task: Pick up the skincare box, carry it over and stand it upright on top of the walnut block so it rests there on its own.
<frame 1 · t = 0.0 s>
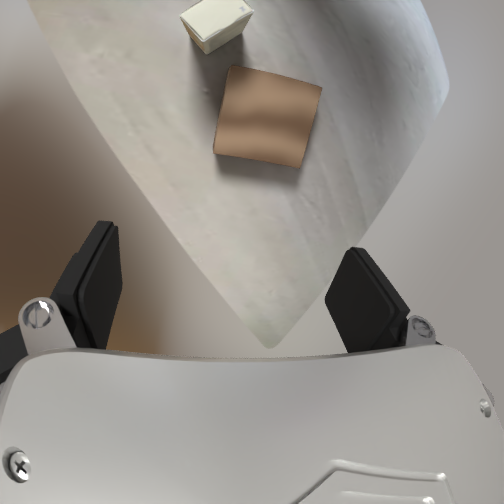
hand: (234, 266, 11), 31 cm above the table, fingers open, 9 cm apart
walnut block: (261, 114, 36), on the table
skincare box: (214, 34, 28), on the table
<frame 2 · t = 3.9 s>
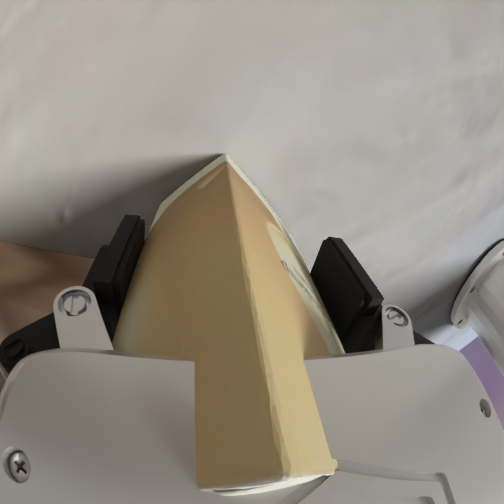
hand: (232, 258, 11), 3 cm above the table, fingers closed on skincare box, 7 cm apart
walnut block: (65, 314, 16), on the table
skincare box: (226, 218, 14), on the table, touching gripper
when the fingers open (10 cm above the table, at t = 9.7 s): skincare box drops 2 cm, resting on walnut block.
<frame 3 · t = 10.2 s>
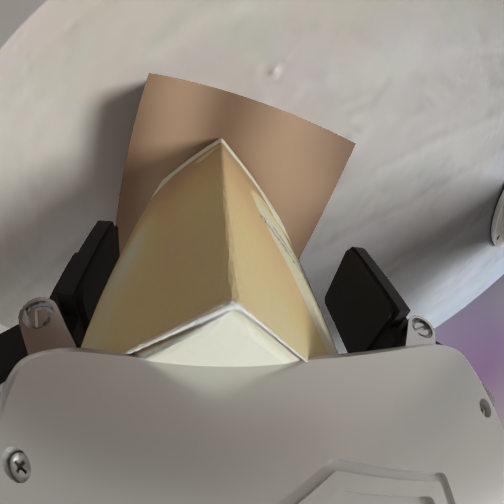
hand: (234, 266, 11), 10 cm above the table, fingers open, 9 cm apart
walnut block: (220, 175, 19), on the table, touching skincare box
skincare box: (220, 197, 15), point 4 cm above the table, touching walnut block
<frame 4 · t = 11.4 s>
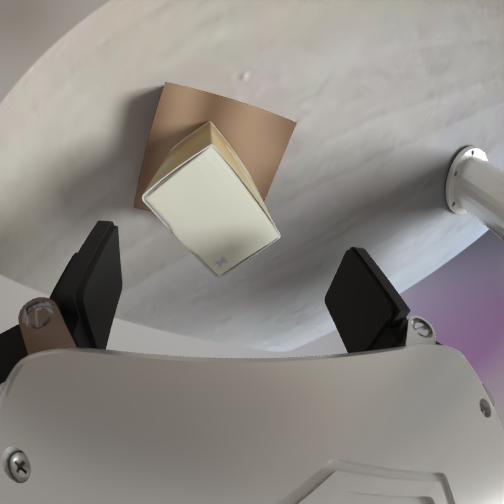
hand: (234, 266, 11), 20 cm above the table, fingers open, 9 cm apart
walnut block: (209, 150, 27), on the table, touching skincare box
skincare box: (209, 158, 23), point 4 cm above the table, touching walnut block
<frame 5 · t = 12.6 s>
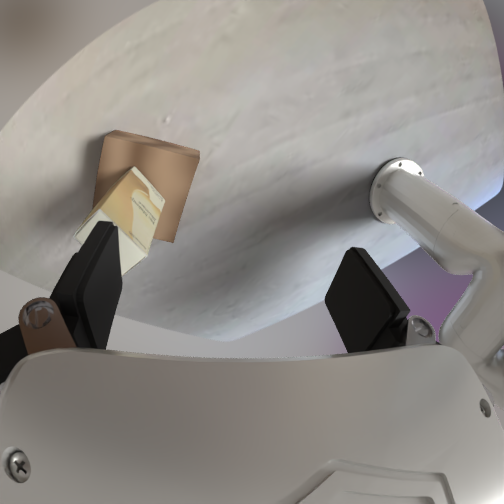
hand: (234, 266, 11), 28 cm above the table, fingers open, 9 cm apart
walnut block: (146, 179, 35), on the table, touching skincare box
skincare box: (137, 191, 31), point 4 cm above the table, touching walnut block
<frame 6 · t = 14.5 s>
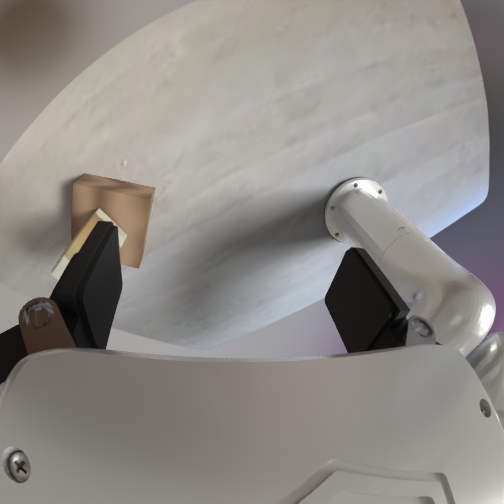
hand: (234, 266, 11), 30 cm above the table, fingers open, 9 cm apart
walnut block: (115, 213, 40), on the table, touching skincare box
skincare box: (105, 228, 36), point 4 cm above the table, touching walnut block
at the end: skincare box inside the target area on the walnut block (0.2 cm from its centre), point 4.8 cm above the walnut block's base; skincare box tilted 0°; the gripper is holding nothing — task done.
